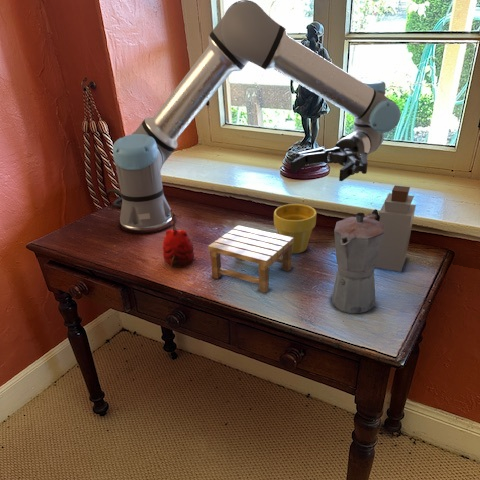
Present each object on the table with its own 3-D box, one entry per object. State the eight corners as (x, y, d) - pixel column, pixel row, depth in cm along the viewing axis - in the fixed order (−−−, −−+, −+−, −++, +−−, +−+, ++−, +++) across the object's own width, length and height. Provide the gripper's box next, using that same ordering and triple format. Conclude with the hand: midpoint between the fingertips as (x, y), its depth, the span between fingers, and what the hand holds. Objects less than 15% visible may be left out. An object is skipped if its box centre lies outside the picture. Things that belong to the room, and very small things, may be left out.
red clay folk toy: (196, 256, 115) (190, 199, 107) (192, 270, 110) (185, 210, 101) (167, 256, 116) (158, 199, 107) (161, 270, 110) (152, 211, 102)
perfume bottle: (405, 258, 110) (419, 185, 99) (401, 271, 105) (415, 195, 95) (377, 254, 112) (387, 181, 102) (371, 266, 107) (382, 192, 97)
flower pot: (312, 258, 112) (315, 221, 106) (271, 256, 114) (271, 219, 108) (315, 240, 120) (317, 204, 114) (276, 238, 122) (276, 202, 116)
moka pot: (315, 312, 93) (322, 220, 82) (346, 279, 103) (355, 192, 92) (360, 326, 89) (373, 231, 77) (387, 290, 99) (402, 201, 87)
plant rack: (210, 277, 107) (207, 245, 102) (239, 254, 115) (238, 225, 110) (266, 293, 100) (266, 261, 95) (292, 268, 108) (293, 237, 104)
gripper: (393, 169, 123) (361, 194, 110) (311, 157, 136) (273, 178, 122) (397, 140, 119) (365, 162, 105) (312, 130, 131) (272, 149, 118)
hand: (315, 171), depth 114 cm, fingers open, 13 cm apart
